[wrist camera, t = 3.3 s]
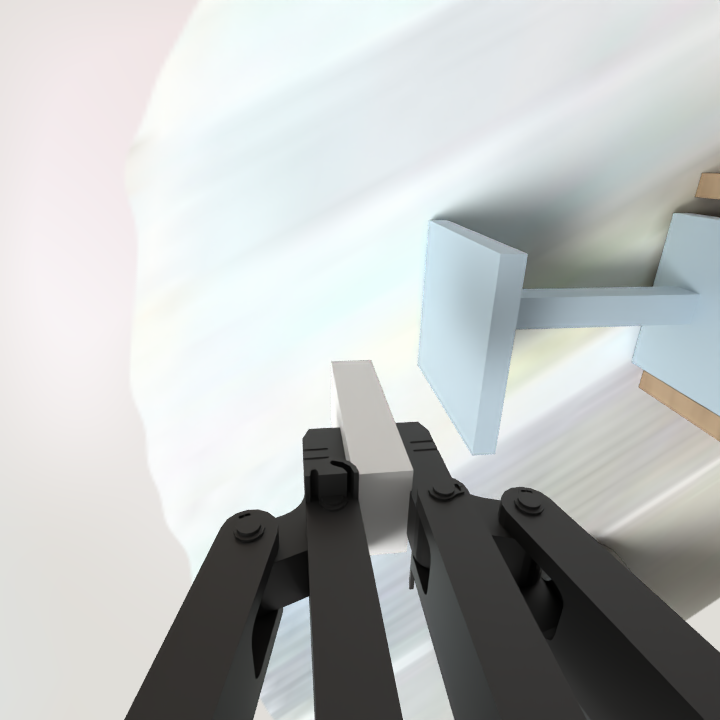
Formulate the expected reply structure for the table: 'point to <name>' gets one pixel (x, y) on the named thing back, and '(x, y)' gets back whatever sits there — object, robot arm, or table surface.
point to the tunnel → (672, 398)
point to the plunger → (561, 319)
